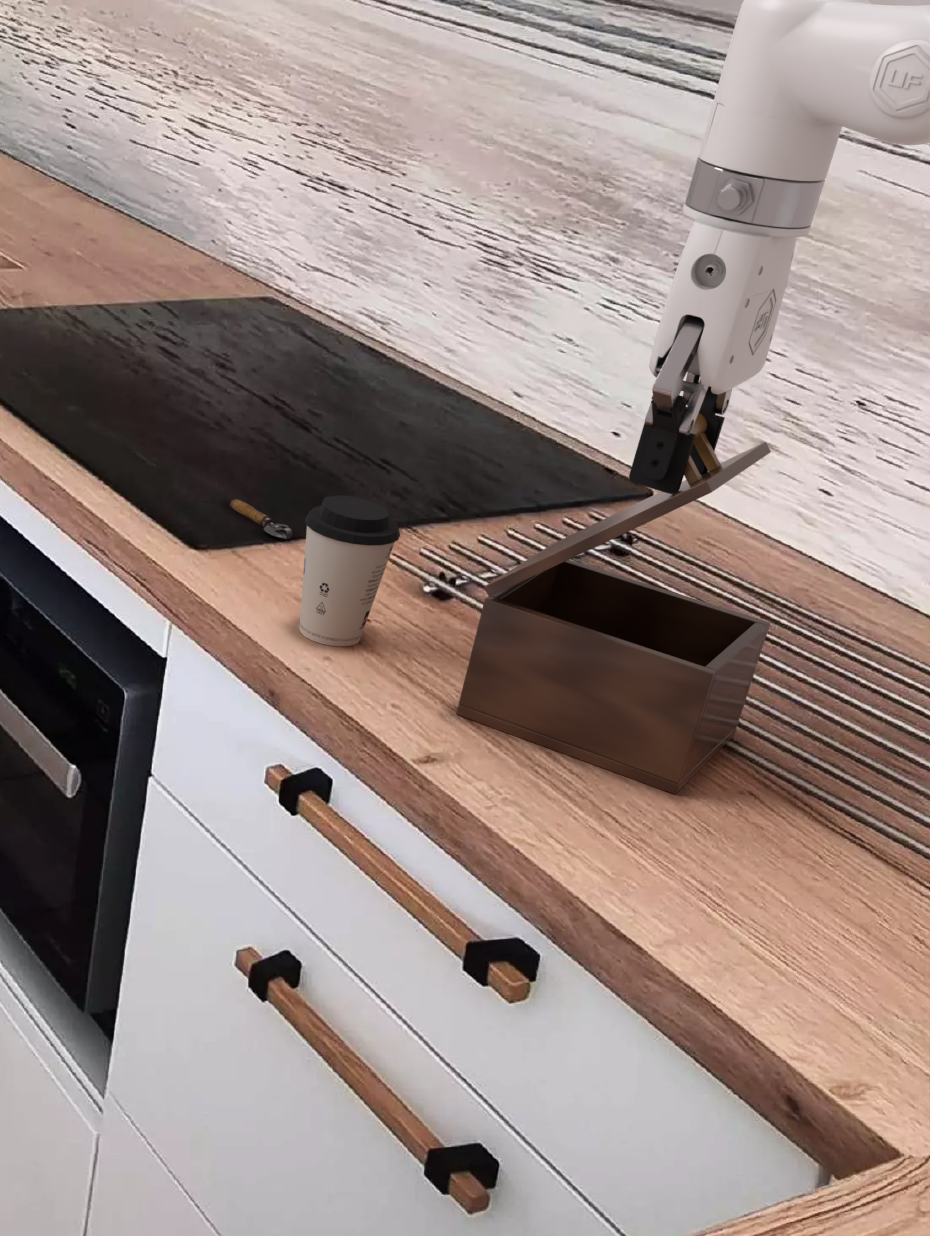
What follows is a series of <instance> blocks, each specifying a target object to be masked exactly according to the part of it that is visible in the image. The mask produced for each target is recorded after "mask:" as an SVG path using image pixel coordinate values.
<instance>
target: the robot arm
mask: <svg viewBox="0 0 930 1236" xmlns="http://www.w3.org/2000/svg"><path fill="white" fill-rule="evenodd" d="M843 128H846V129H848V130H851V131H854V132H857V133H859V134H862V135H865V136H868V137H870V138H873V139H876V140H879V141H882V142H886V143H889V144H894V145H901V146H919V145H925V144H930V4H922V5H895V4H894V5H893V4H892V5H891V4H878V3H875V4H874V3H871V1H869V0H743V1H742V2H741V6H740V9H739V11H738V15H737V18H736V21H735V24H734V28H733V31H732V35H731V39H730V42H729V46H728V50H727V53H726V56H725V60H724V63H723V68H722V70H721V73H720V77H719V80H718V85H717V88H716V91H715V94H714V98H713V101H712V105H711V109H710V112H709V116H708V120H707V124H706V126H705V131H704V134H703V138H702V140H701V145H700V149H699V153H698V156H697V158H696V161H695V164H694V168H693V171H692V176H691V179H690V182H689V186H688V189H687V193H686V196H685V200H684V204H683V207H682V210H681V211H682V214H683V215H685V216H687V217H688V218H690V219H693V223H692V226H691V229H690V231H689V234H688V236H687V238H686V242H685V245H684V247H683V250H682V251H681V256H680V259H679V262H678V265H677V268H676V270H675V274H674V276H673V279H672V282H671V285H670V288H669V291H668V294H667V298H666V301H665V304H664V307H663V310H662V314H661V317H660V320H659V323H658V327H657V330H656V334H655V338H654V342H653V345H652V348H651V349H652V350H651V354H650V357H649V364H648V367H649V370H650V372H651V374H652V375H653V376H654V377H655V380H654V383H653V385H652V390H651V391H652V396H651V401H650V405H649V407H648V410H647V411H646V414H645V419H644V423H643V427H642V430H641V433H640V437H639V440H638V444H637V447H636V450H635V454H634V458H633V460H632V464H631V468H630V471H629V474H628V480H629V482H631V483H632V484H637V485H639V486H643V487H645V488H649V489H652V490H655V491H658V492H665V493H669V494H674V493H676V492H677V491H678V490H679V489H680V486H681V483H682V481H684V480H683V479H684V477H685V476H684V473H685V470H686V467H687V463H688V460H689V457H690V456H691V458H692V460H693V462H694V464H695V465H696V467H697V469H698V471H699V473H700V475H703V474H705V473H706V472H708V469H707V468H706V466H705V464H704V462H703V460H702V458H701V456H700V454H699V452H698V450H697V448H696V447H695V445H694V440H695V437H696V434H692V433H691V431H692V429H693V426H694V423H695V421H696V418H697V415H698V413H700V414H702V415H703V416H704V417H705V418H706V420H707V429H706V431H705V432H704V433H705V435H706V437H707V439H708V441H709V443H710V445H711V447H712V449H713V450H714V452H716V448H717V445H718V442H719V437H720V435H721V431H722V428H723V425H724V422H725V419H726V417H725V416H724V415H725V414H726V412H727V410H728V407H729V405H730V400H731V397H732V392H733V389H734V388H736V387H738V386H739V385H741V384H743V383H745V382H746V381H748V380H750V379H751V378H753V377H755V376H756V375H758V374H759V373H760V372H761V371H762V369H763V368H764V366H765V364H766V361H767V357H768V355H769V351H770V346H771V344H772V339H773V336H774V332H775V329H776V325H777V321H778V318H779V314H780V310H781V306H782V303H783V299H784V295H785V291H786V288H787V283H788V280H789V275H790V273H791V267H792V264H793V260H794V259H793V258H794V253H795V248H796V245H797V244H796V243H797V238H802V237H803V238H804V237H806V236H808V235H809V233H810V230H811V226H812V224H813V220H814V217H815V214H816V210H817V207H818V205H819V201H820V198H821V194H822V192H823V189H824V185H825V183H826V178H827V177H828V173H829V169H830V167H831V163H832V160H833V158H834V154H835V151H836V148H837V145H838V142H839V137H840V135H841V131H842V129H843ZM685 377H686V378H685ZM684 379H685V380H684ZM682 392H683V393H682ZM681 393H682V395H681Z"/></svg>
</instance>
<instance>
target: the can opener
mask: <svg viewBox="0 0 930 1236" xmlns="http://www.w3.org/2000/svg"><path fill="white" fill-rule="evenodd" d="M229 507H230V508H231V509H233V510H234V511H236V512H238V513H239V514H241V515H243V516H244V517H246V518H248V519H250V520H251V521H253V522H255V523H256V524H257V525H259V526H260V527H263V531H264V532H265V533H267V534H269V535H270V536H272V537H275V538H280V539H283V540H288V539H292V537H293V531H292V529H291V528H290V526H289V525H287V524H283V523H274V520H273V519H272V518H271V516H268V515H266V514H265V513H263V512H261V511H259V510H258V509H256V508H255V507H253V506H252V505H250V504H249V503H247V502H245V501H243V500H241V499H238V498H233V499H232V500H231V501H230V502H229Z"/></svg>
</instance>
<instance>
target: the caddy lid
mask: <svg viewBox="0 0 930 1236" xmlns="http://www.w3.org/2000/svg"><path fill="white" fill-rule="evenodd" d="M706 429H707V420H706V418H705V417H704V416H703V415H702V414H700V413H698V415H697V418H696V421H695V423H694V426H693V429H692V431H691V433H692V434H696V437H695V440H694V445H695V447H696V448H697V450H698V452H699V454H700V456H701V458H702V460H703V462H704V464H705V466H706V468H707V469H708V472H706V473H705V474H703V475H700V473H699V471H698V469H697V467H696V465H695V464H694V462H693V460H692V458H691V456H690V457H689V460H688V463H687V467H686V470H685V473H684V476H683V477H684V478H685V479H684V480H682V483H681V486H680V489H679V490H678V491H677V492H676V493H674V494H669V493H665V492H662V491H659V492H657V493H656V494H653V495H651V496H649V497H647V498H645V499H643V500H641V501H639V502H637V503H634V504H632V505H630V506H629V507H626V508H624V509H622V510H620V511H618V512H616V513H614V514H611V515H609V516H607V517H605V518H603V519H601V520H598V521H597V522H595V523H592V524H591V525H589V526H587V527H585V528H583V529H581V530H579V531H576V532H574V533H573V534H569V535H568V536H566V537H564V538H562V539H559V540H557V541H555V542H554V543H551V544H550V545H548V546H547V547H545V548H543V549H542V550H540V551H539V552H537V553H535V554H534V555H532V556H531V557H529V558H527V559H526V560H524V561H522V562H521V563H519V564H518V565H516V566H514V567H513V568H511V569H510V570H508V571H506V572H505V573H504V574H502V575H500V576H499V577H497V578H495V579H493V580H492V581H490V582H489V583H487V584H486V585H484V586H483V589H484V590H485V592H486V594H487V597H488V596H489V597H491V596H493V595H495V594H497V593H499V592H501V591H503V590H505V589H508V588H510V587H512V586H514V585H516V584H518V583H520V582H522V581H525V580H527V579H529V578H531V577H533V576H535V575H537V574H539V573H542V572H544V571H546V570H548V569H550V568H552V567H554V566H556V565H559V564H561V563H563V562H565V561H567V560H572V559H574V558H575V557H577V556H580V555H582V554H584V553H586V552H588V551H591V550H592V549H595V548H596V547H599V546H602V545H603V544H605V543H607V542H609V541H612V540H614V539H616V538H618V537H620V536H622V535H624V534H627V533H629V532H631V531H633V530H635V529H637V528H639V527H642V526H644V525H645V524H648V523H650V522H652V521H654V520H656V519H658V518H661V517H662V516H664V515H667V514H669V513H672V512H673V511H675V510H677V509H680V508H682V507H684V506H686V505H689V504H690V503H693V502H694V501H696V500H699V499H701V498H703V497H705V496H707V495H709V494H711V493H713V492H715V491H716V490H718V489H719V488H720V487H721V486H723V485H725V484H727V483H728V482H729V481H731V480H733V479H734V478H735V477H737V476H738V475H740V474H742V472H744V471H746V470H747V469H748V468H750V467H752V466H753V465H754V464H756V463H757V462H759V461H760V460H761V459H764V458H765V457H766V456H768V455H769V454H770V453H772V451H771V449H770V447H769V445H768V443H767V442H766V441H764V442H761V443H760V444H757V445H755V446H753V447H751V448H750V449H747V450H745V451H743V452H740V453H739V454H736V455H735V456H733V457H730V458H728V459H726V460H723V461H722V462H721V461H720V460H719V458H718V457H717V454H716V453H715V452H716V451H714V450H713V449H712V447H711V445H710V443H709V441H708V439H707V437H706V435H705V433H704V432H705V431H706Z"/></svg>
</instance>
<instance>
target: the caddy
mask: <svg viewBox="0 0 930 1236" xmlns="http://www.w3.org/2000/svg"><path fill="white" fill-rule="evenodd" d="M483 600H484V601H483V604H482V609H481V613H480V617H479V621H478V625H477V627H476V632H475V637H474V642H473V645H472V649H471V653H470V656H469V660H468V665H467V668H466V673H465V676H464V679H463V680H464V681H463V685H462V688H461V693H460V697H459V700H458V705H457V708H456V715H457V716H460V717H462V718H465V719H468V720H470V721H473V722H476V723H480V724H482V725H484V726H487V727H490V728H492V729H496V730H498V731H501V732H503V733H507V734H509V735H511V736H514V737H517V738H520V739H523V740H526V741H528V742H530V743H534V744H536V745H538V746H542V747H545V748H547V749H550V750H553V751H556V752H559V753H560V754H564V755H566V756H569V757H571V758H575V759H577V760H580V761H583V762H586V763H589V764H591V765H594V766H597V767H598V768H602V769H605V770H608V771H609V772H613V773H617V774H619V775H621V776H624V777H627V778H629V779H632V780H635V781H637V782H640V783H643V784H645V785H648V786H650V787H655V788H657V789H659V790H662V791H665V792H667V793H670V794H673V795H676V794H677V793H679V791H680V790H681V789H682V788H683V787H684V786H685V785H687V783H688V782H690V780H691V779H692V778H694V776H695V775H696V774H697V773H698V772H699V771H701V769H703V768H704V766H706V765H707V764H708V763H709V761H710V760H711V759H713V758H714V757H715V756H716V755H717V754H718V753H719V752H720V751H721V750H722V749H723V748H724V747H725V746H726V745H727V744H728V743H729V742H730V741H731V740H732V739H733V738H734V736H735V734H736V732H737V727H738V726H739V723H740V722H739V721H740V719H741V716H742V713H743V709H744V706H745V703H746V702H747V701H746V700H747V698H748V694H749V691H750V688H751V684H752V682H753V679H754V675H755V673H756V669H757V666H758V663H759V660H760V657H761V654H762V651H763V647H764V644H765V642H766V638H767V635H768V632H769V629H770V626H771V622H770V621H767V620H763V619H761V618H758V617H754V616H751V615H748V614H745V613H741V612H738V611H735V610H732V609H729V608H726V607H723V606H720V605H716V604H712V603H709V602H706V601H703V600H700V599H696V598H693V597H690V596H687V595H684V594H681V593H677V592H675V591H672V590H668V589H664V588H661V587H658V586H656V585H652V584H650V583H649V584H648V583H645V582H642V581H639V580H636V579H633V578H630V577H626V576H623V575H620V574H617V573H614V572H610V571H608V570H604V569H601V568H597V567H594V566H591V565H589V564H585V563H581V562H578V561H576V560H573V559H569V560H567V561H565V562H563V563H561V564H559V565H556V566H554V567H552V568H550V569H548V570H546V571H544V572H542V573H539V574H537V575H535V576H533V577H531V578H529V579H527V580H525V581H522V582H520V583H518V584H516V585H514V586H512V587H510V588H508V589H505V590H503V591H501V592H499V593H497V594H495V595H493V596H491V597H489V596H488V595H487V597H485V598H484V599H483Z"/></svg>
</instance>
